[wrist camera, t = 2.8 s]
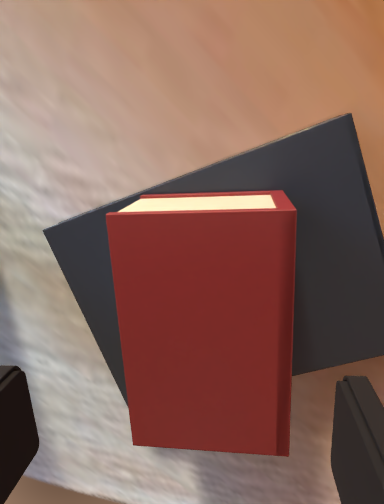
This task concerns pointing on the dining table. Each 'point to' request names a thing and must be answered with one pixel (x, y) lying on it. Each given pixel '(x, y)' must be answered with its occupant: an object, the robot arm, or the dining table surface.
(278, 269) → the pocket dictionary
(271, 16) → the dining table surface
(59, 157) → the dining table surface
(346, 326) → the slate hardcover
